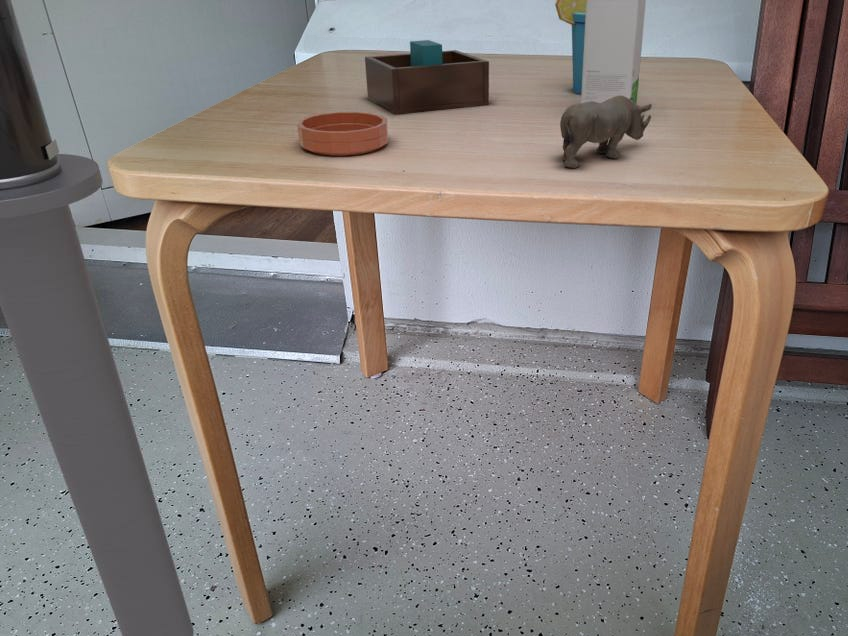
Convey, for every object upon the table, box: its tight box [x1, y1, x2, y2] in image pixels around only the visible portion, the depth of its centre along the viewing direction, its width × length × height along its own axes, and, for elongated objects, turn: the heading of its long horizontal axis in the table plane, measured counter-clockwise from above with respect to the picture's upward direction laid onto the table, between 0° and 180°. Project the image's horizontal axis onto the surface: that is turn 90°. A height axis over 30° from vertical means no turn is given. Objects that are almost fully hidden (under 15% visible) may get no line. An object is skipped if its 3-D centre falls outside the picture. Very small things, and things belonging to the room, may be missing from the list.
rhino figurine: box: [559, 95, 653, 169], centre depth 78 cm, size 4×14×6 cm, turn 129°
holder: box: [364, 49, 490, 115], centre depth 101 cm, size 14×11×6 cm
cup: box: [555, 0, 586, 95], centre depth 105 cm, size 14×8×15 cm, turn 119°
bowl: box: [296, 111, 389, 157], centre depth 82 cm, size 10×10×3 cm
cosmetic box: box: [580, 0, 647, 105], centre depth 92 cm, size 8×7×16 cm
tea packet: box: [409, 39, 443, 67], centre depth 100 cm, size 4×3×7 cm, turn 26°
